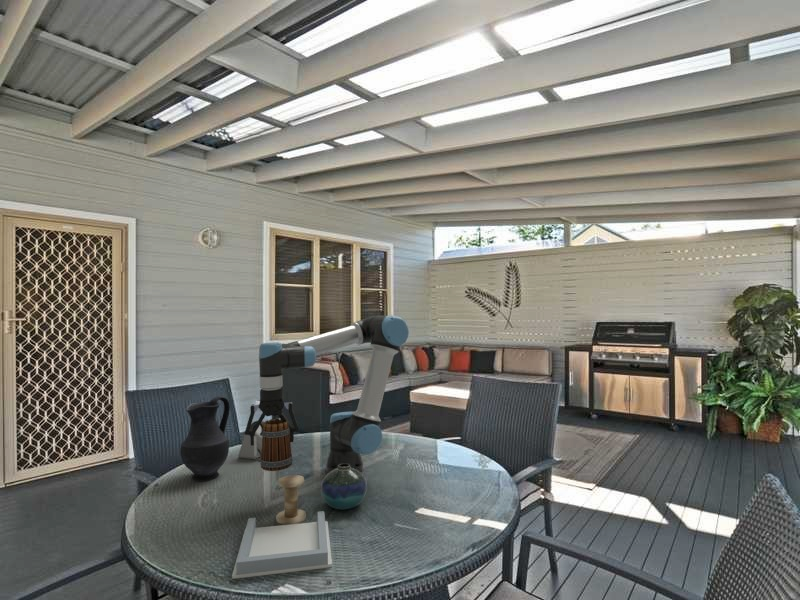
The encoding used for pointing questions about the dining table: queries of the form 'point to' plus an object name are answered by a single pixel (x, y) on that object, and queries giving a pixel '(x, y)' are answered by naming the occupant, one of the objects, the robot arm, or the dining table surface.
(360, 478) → the vase
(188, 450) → the pitcher
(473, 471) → the dining table surface
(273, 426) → the mug
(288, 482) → the bobbin
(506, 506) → the dining table surface
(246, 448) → the tank
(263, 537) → the grey square tray
